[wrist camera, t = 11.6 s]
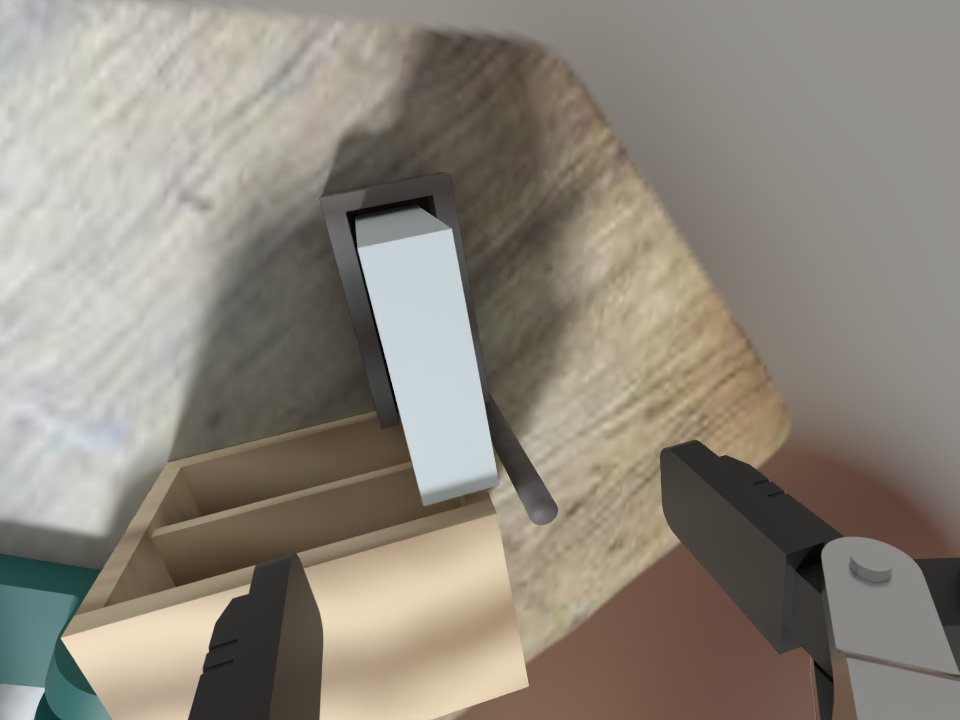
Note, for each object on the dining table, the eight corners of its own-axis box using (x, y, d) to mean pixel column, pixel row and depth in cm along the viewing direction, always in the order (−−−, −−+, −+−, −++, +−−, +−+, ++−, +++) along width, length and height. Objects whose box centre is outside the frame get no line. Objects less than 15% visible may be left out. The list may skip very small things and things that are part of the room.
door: (354, 216, 28) (357, 248, 18) (428, 201, 28) (471, 224, 18) (400, 396, 32) (423, 506, 22) (464, 380, 32) (515, 480, 22)
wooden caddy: (67, 242, 25) (-152, 305, 14) (449, 171, 28) (513, 178, 17) (228, 596, 34) (168, 808, 23) (510, 515, 36) (579, 669, 25)
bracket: (220, 588, 34) (185, 704, 26) (191, 669, 35) (150, 800, 28) (-147, 527, 28) (-323, 656, 20) (-163, 628, 29) (-331, 781, 22)
